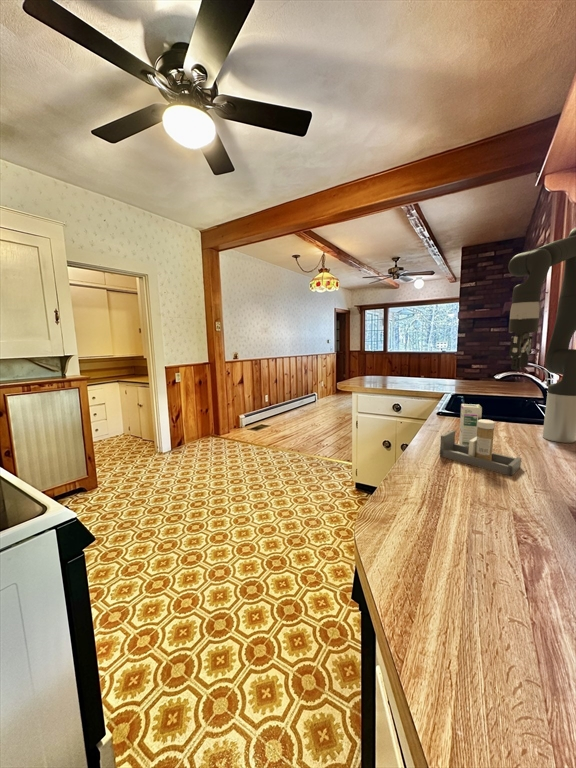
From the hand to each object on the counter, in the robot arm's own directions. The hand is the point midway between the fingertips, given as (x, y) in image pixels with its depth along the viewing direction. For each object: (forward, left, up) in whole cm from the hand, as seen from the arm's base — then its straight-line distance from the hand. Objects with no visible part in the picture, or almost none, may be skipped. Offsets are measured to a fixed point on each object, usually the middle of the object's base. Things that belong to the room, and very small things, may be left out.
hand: (519, 368), depth 102 cm
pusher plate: (+18, -5, -26) cm, 32 cm away
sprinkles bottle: (+18, -3, -28) cm, 34 cm away
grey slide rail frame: (+18, -4, -28) cm, 34 cm away
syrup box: (+4, -12, -28) cm, 31 cm away
